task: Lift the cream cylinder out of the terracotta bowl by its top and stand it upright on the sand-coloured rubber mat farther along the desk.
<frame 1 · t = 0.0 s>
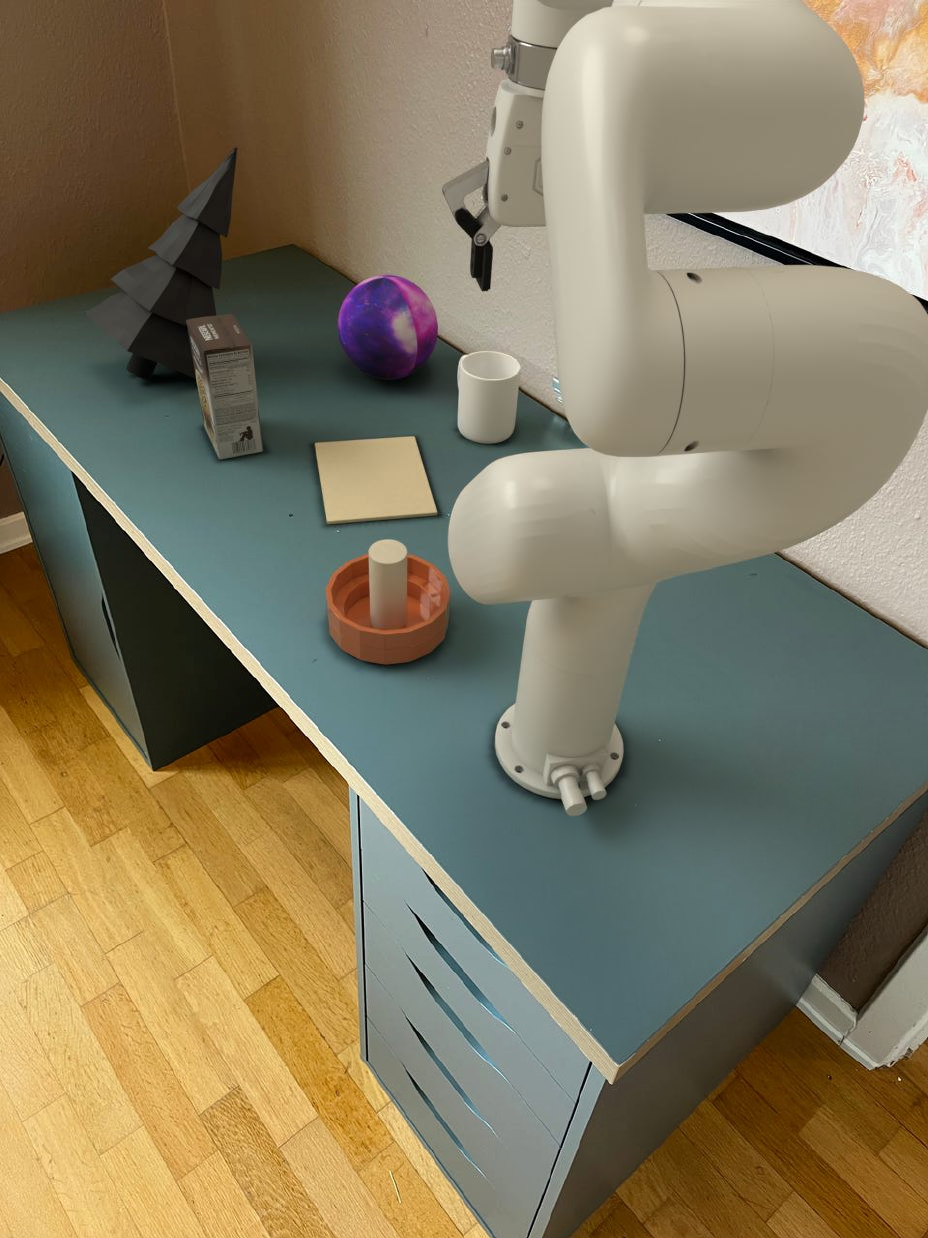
hand: (534, 282, 82), 37 cm above the table, tool pointing down, fingers open, 9 cm apart
cream cylinder: (388, 621, 102), resting on bowl
decorative tree: (190, 365, 142), on the table
mat: (373, 479, 123), on the table
bowl: (388, 624, 102), on the table
decorative orb: (388, 374, 144), on the table
cup: (478, 424, 134), on the table
coffee box: (233, 440, 128), on the table
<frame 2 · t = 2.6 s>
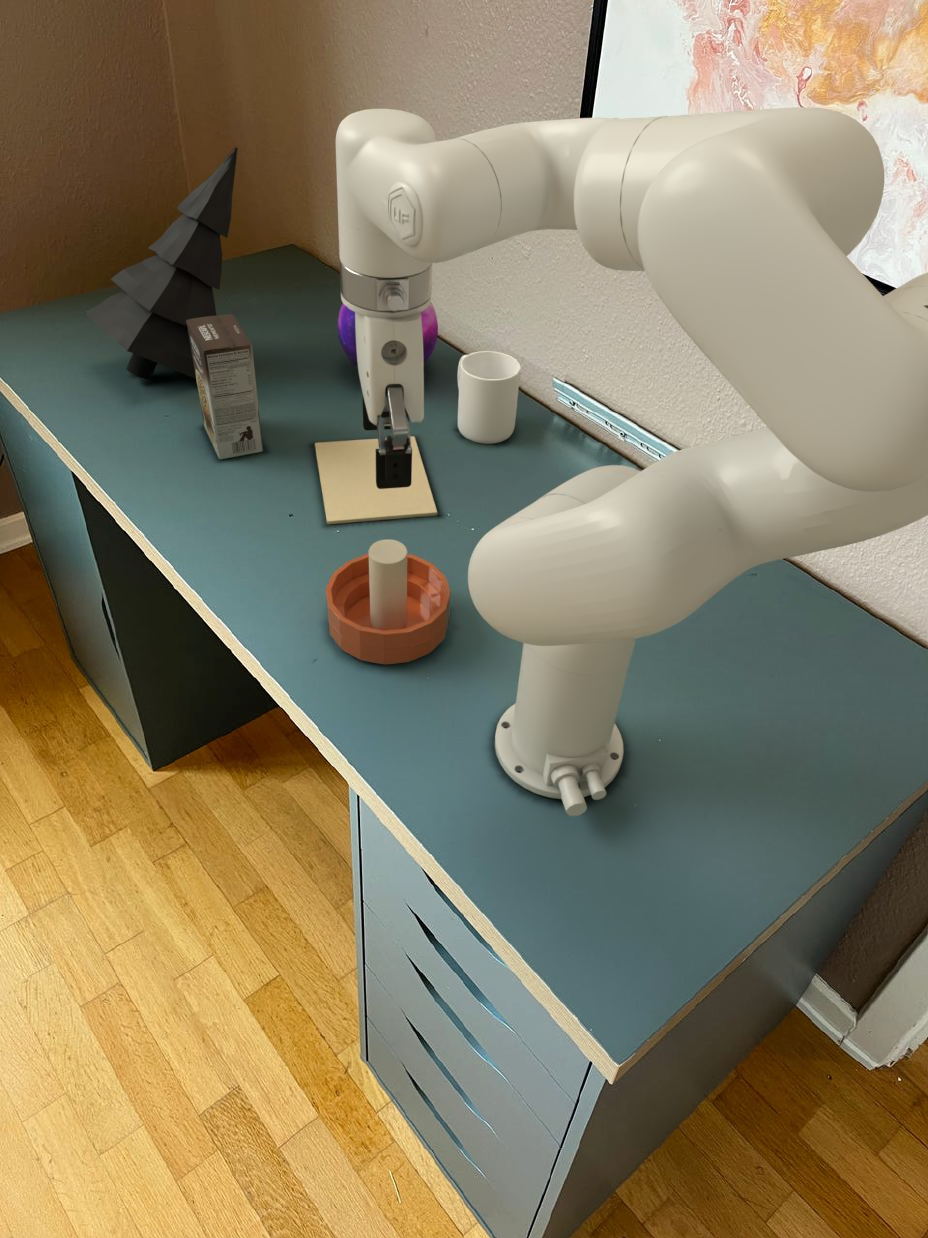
hand: (386, 456, 88), 22 cm above the table, tool pointing down, fingers open, 9 cm apart
nothing on the table moved.
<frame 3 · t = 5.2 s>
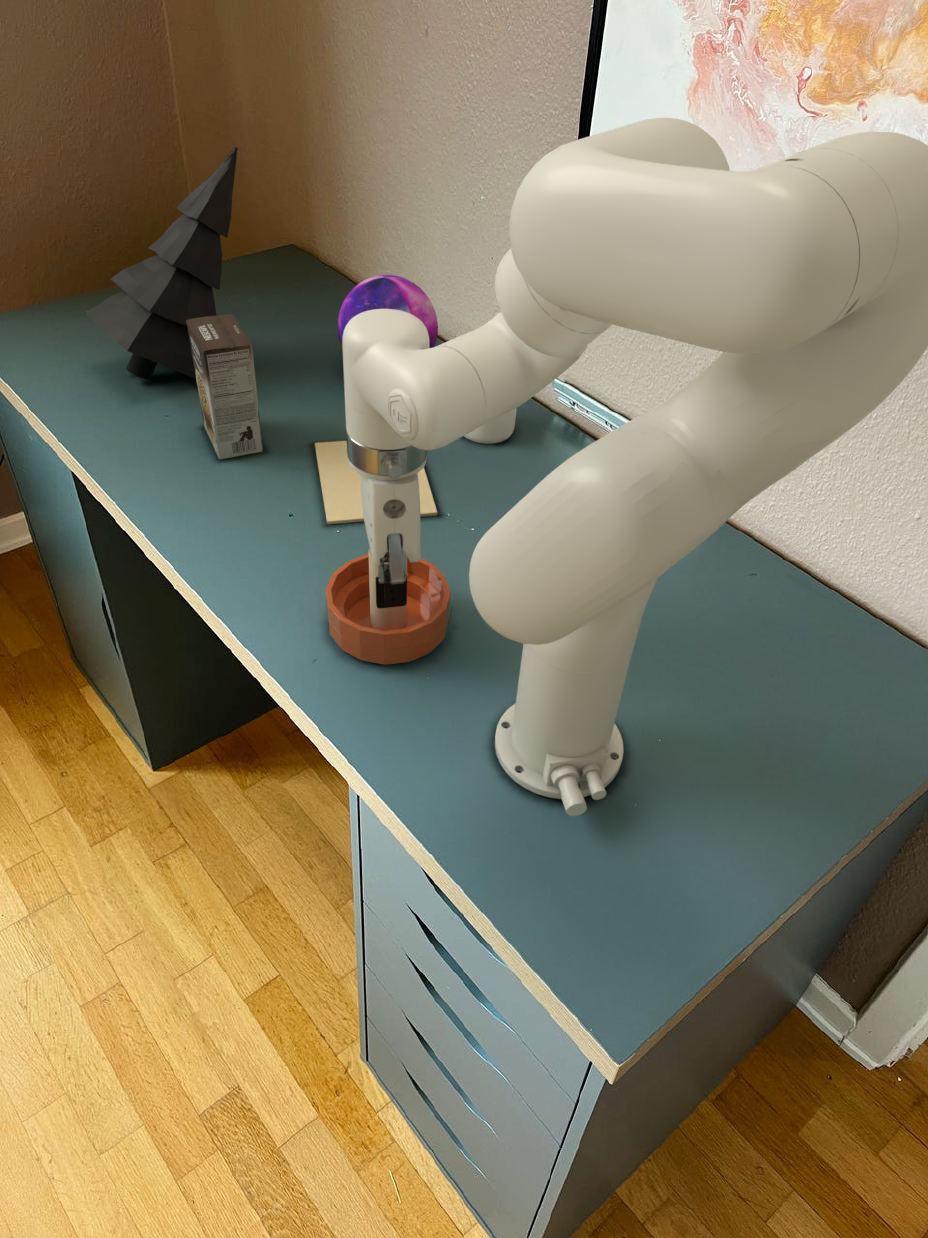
hand: (388, 589, 99), 5 cm above the table, tool pointing down, fingers closed on cream cylinder, 4 cm apart
cream cylinder: (388, 621, 102), point 1 cm above the table, touching bowl, gripper
everything else where it was.
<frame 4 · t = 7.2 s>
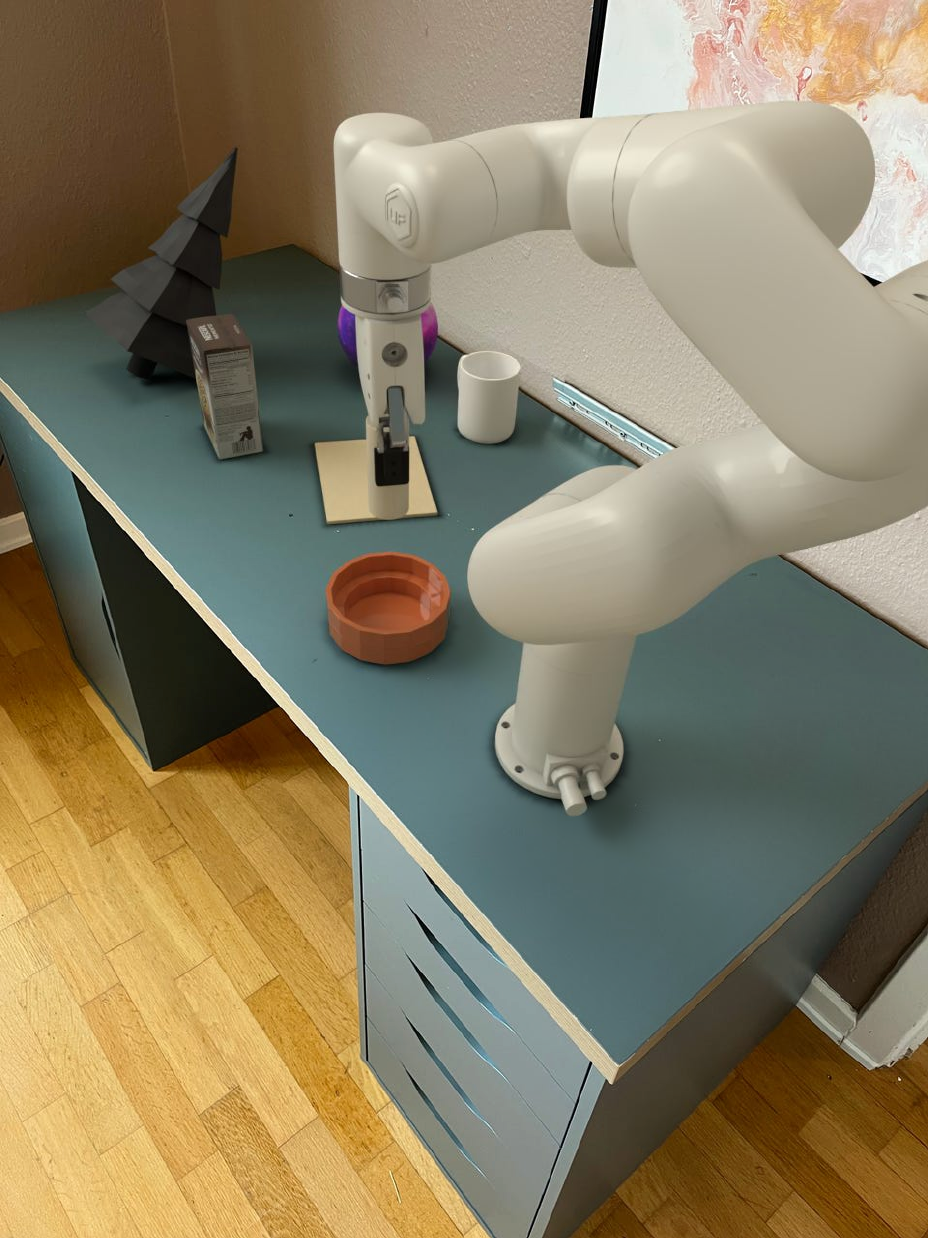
hand: (388, 467, 89), 21 cm above the table, tool pointing down, fingers closed on cream cylinder, 4 cm apart
cream cylinder: (388, 507, 92), point 16 cm above the table, touching gripper
everything else where it was.
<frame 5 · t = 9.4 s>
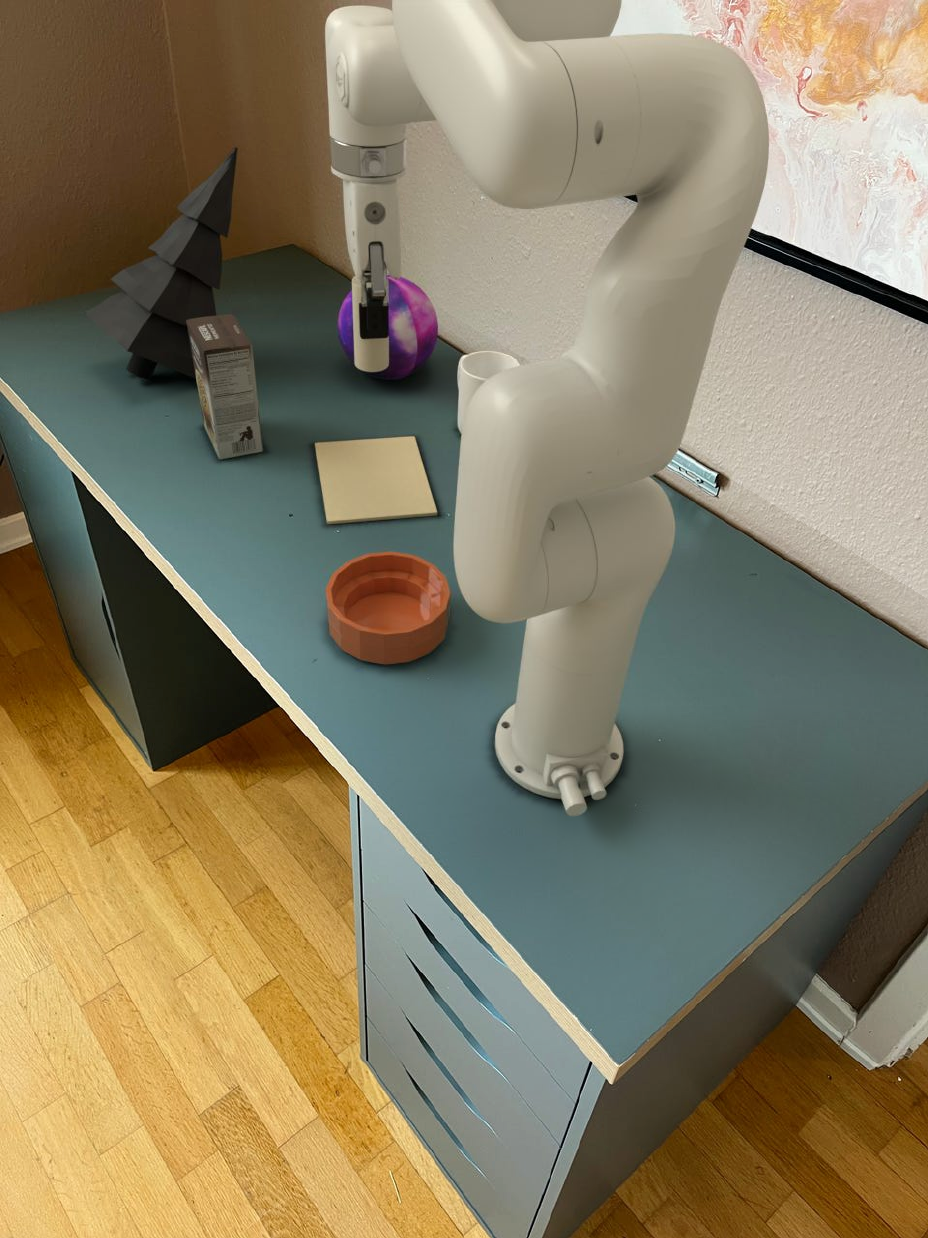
hand: (371, 325, 104), 23 cm above the table, tool pointing down, fingers closed on cream cylinder, 4 cm apart
cream cylinder: (371, 363, 108), point 18 cm above the table, touching gripper
everything else where it was.
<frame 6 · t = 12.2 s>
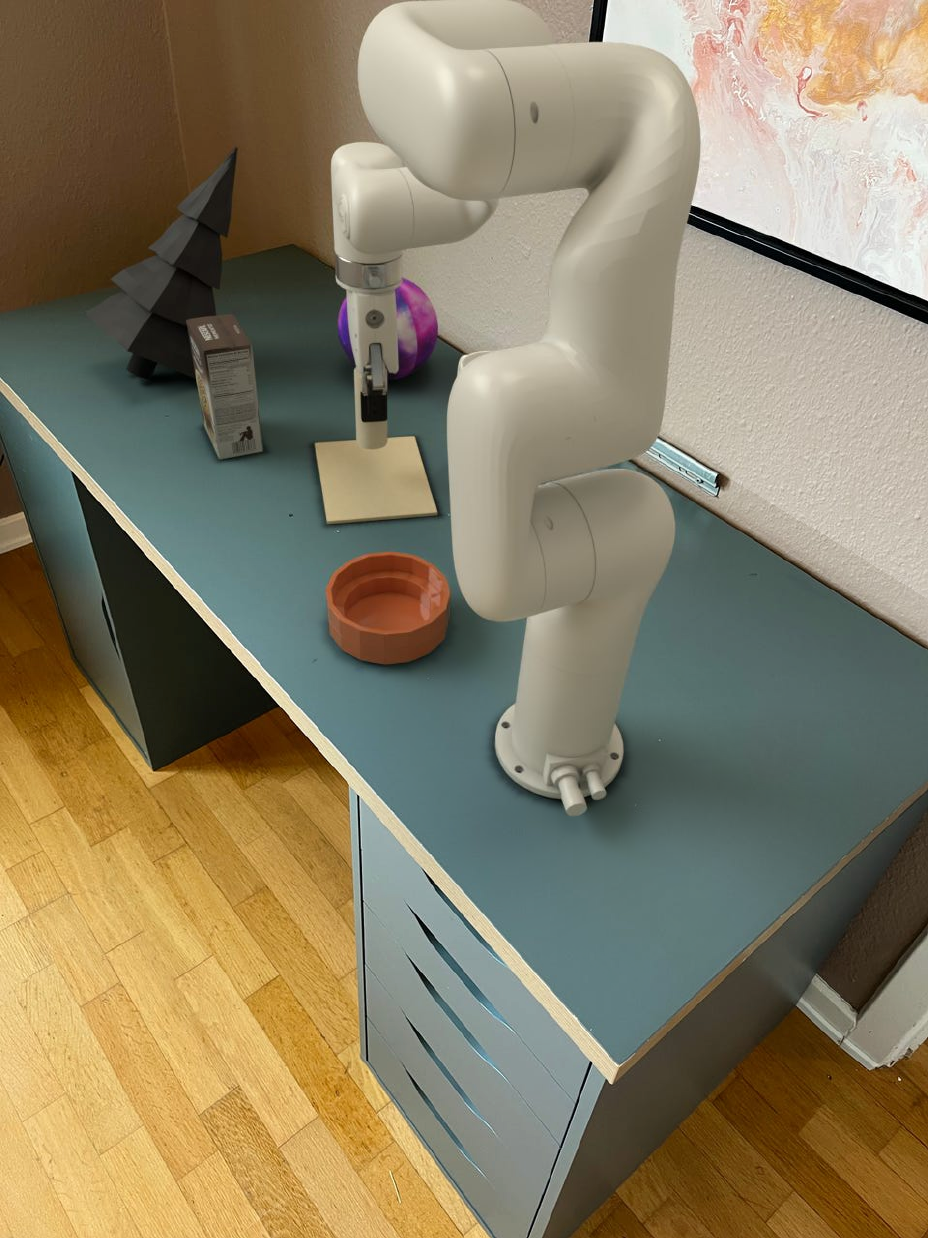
hand: (371, 409, 115), 10 cm above the table, tool pointing down, fingers closed on cream cylinder, 4 cm apart
cream cylinder: (371, 440, 119), point 6 cm above the table, touching gripper
everything else where it was.
when the fingers open (5 cm above the table, at t = 13.9 s): cream cylinder stays where it is, resting on mat.
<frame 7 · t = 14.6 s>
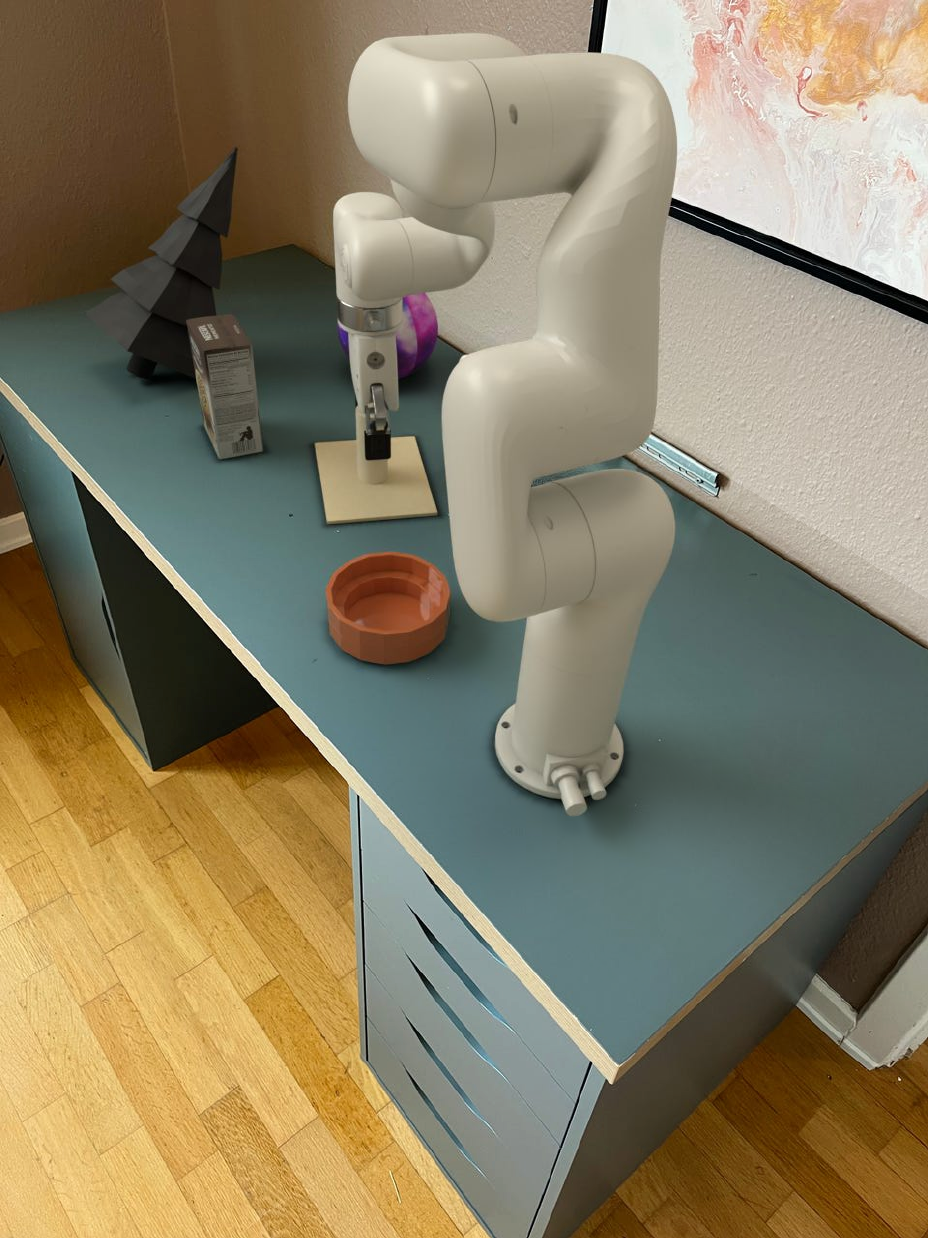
hand: (372, 437, 118), 6 cm above the table, tool pointing down, fingers open, 9 cm apart
cream cylinder: (372, 475, 122), resting on mat
everything else where it was.
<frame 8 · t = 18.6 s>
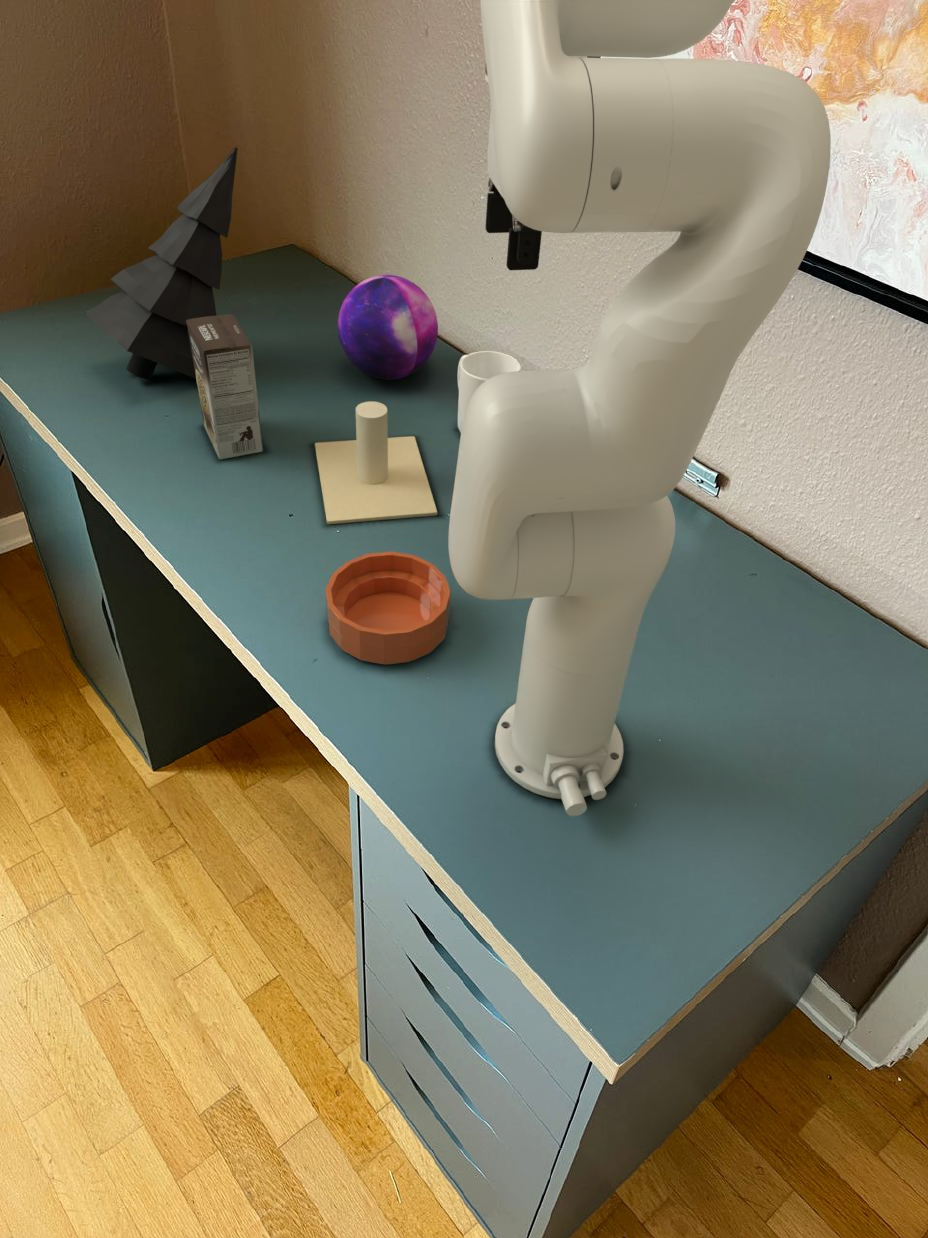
hand: (510, 249, 97), 33 cm above the table, tool pointing down, fingers open, 9 cm apart
nothing on the table moved.
at the end: cream cylinder inside the target area on the mat (0.1 cm from its centre), point 0.5 cm above the mat's base; cream cylinder tilted 0°; cream cylinder touching mat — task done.
